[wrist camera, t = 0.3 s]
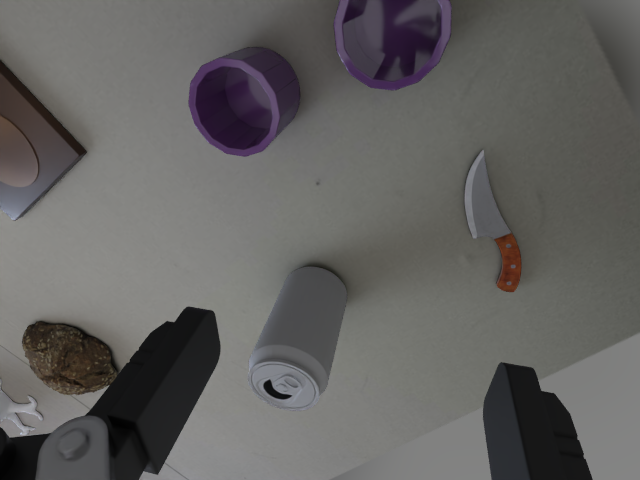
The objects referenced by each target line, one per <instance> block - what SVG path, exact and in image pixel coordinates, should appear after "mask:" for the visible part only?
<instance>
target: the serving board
mask: <svg viewBox="0 0 640 480" xmlns="http://www.w3.org/2000/svg"><path fill="white" fill-rule="evenodd" d="M86 153H87V152H86V151H85V150H84V149H83V147H82V146H81V145H80V144H79V143H78V142H77V141H76V140H75V139H74V138H73V137H72V136H71V135H70V134H69V133H68V132H67V131H66V130H65V128H64V127H63V126H62V125H61V124H60V123H59V122H58V121H57V120H56V119H55V118H54V117H53V116H52V115H51V114H50V113H49V112H48V111H47V109H46V108H45V107H44V106H43V105H42V104H41V103H40V102H39V101H38V100H37V99H36V98H35V97H34V96H33V95H32V94H31V93H30V91H29V90H28V89H27V88H26V87H25V86H24V85H23V84H22V83H21V82H20V81H19V80H18V79H17V78H16V77H15V76H14V75H13V74H12V72H11V71H10V70H9V69H8V68H7V67H6V66H5V65H4V64H3V63H2V62H1V61H0V208H1V209H2V210H3V211H4V212H5V213H6V214H7V215H8V216H9V217H10V218H12V219H13V220H14V221H15V220H17V219H19V218H21V217H22V216H23V215H24V214H25V213H26V212H27V211H28V210H29V209H30V208H31V207H32V206H33V205H34V204H35V203H36V202H37V201H38V200H39V199H40V198H41V197H42V196H43V195H44V194H45V193H46V192H47V191H48V190H49V189H50V188H51V187H52V186H53V185H55V184H56V183H57V182H58V181H59V180H60V179H61V178H62V177H63V176H64V175H65V174H66V173H67V172H68V171H69V170H70V169H71V168H72V167H73V166H74V165H75V164H76V163H77V162H78V161H79V160H80V159H81V158H82V157H83V156H84V155H85V154H86Z"/></svg>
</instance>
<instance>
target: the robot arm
mask: <svg viewBox="0 0 640 480" xmlns="http://www.w3.org/2000/svg"><path fill="white" fill-rule="evenodd" d="M219 356H220V340H219V334H218V329H217V323H216V317H215V313H214V312H213V311H211V310H206V309H200V308H194V307H186V308H185V309H184V310H183V311H182V313H181V314H180V315H179V317H178V318H177V319H176V321H175V322H169V321H167V322H165V323H164V324H162V325H161V326H159V327H158V328H157V329H155V330H154V331H152V332H151V333H150V334H149V336H148V337H147V338H146V339H145V341H144V342H143V343H142V345H141V346H140V347H139V350H138V351H136V352H135V354H134V355H133V356H132V357H131V359H130V362H129V363H127V364H126V365H125V366H124V368H123V369H122V370H121V372H120V373H119V374H118V375H117V377H116V378H115V379H114V381H113V382H112V383H111V384H110V386H109V387H108V388H107V390H106V391H105V392H104V394H103V395H102V396H101V397H100V399H99V400H98V401H97V403H96V404H95V405H94V406H93V408H92V409H91V410H90V411H89V412H88V413H87V414H86V415H85V416H81V417H78V418H74V419H72V420H69V421H68V422H66V423H64V424H62V425H61V426H59V427H58V428H57V429H56V430H54V431H53V432H52V433H49V434H41V435H32V436H23V437H14V438H9V436H8V435H7V434H6V432H5V431H4V430H3V429H2V428H1V427H0V480H139V478H140V476H141V474H142V473H143V471H145V472H149V473H153V474H157V475H158V473H159V472H160V470H161V468H162V466H163V464H164V462H165V460H166V459H167V457H168V455H169V453H170V451H171V449H172V447H173V446H174V444H175V442H176V440H177V438H178V436H179V434H180V432H181V431H182V429H183V427H184V425H185V423H186V421H187V419H188V418H189V416H190V414H191V412H192V410H193V408H194V406H195V405H196V403H197V401H198V399H199V397H200V395H201V393H202V392H203V390H204V388H205V386H206V384H207V382H208V380H209V378H210V377H211V375H212V373H213V371H214V369H215V367H216V365H217V363H218V360H219ZM483 420H484V428H485V435H486V442H487V449H488V457H489V464H490V470H491V477H492V480H592V476H591V474H590V471H589V468H588V465H587V462H586V459H584V457H583V455H584V453H583V450H582V448H581V445H580V442H579V440H577V433H576V430H575V427H574V424H573V421H572V419H571V416H570V413H569V412H568V411H567V409H566V408H565V407H564V405H563V404H562V403H561V401H560V400H559V399H558V398H557V396H556V395H555V394H554V393H549V392H544V391H541V389H540V385H539V382H538V378H537V375H536V372H535V370H534V369H533V368H531V367H525V366H520V365H514V364H508V363H502V362H501V363H500V364H499V365H498V367H497V370H496V372H495V375H494V377H493V379H492V382H491V384H490V387H489V389H488V392H487V394H486V397H485V400H484V407H483Z"/></svg>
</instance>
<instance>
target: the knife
mask: <svg viewBox="0 0 640 480" xmlns="http://www.w3.org/2000/svg"><path fill="white" fill-rule="evenodd" d="M465 210H466V216H467V221H468V225H469V228H470V231H471V234H472V236H473V239H475V238H479V237H483V236H488V237H491V238H493V239H494V240H495V241H496V242H497V244H498V246H499V248H500V251H501V254H502V270H501V273H500V276H499V278H498V280H497V287H498V288H500V289H501V290H503V291H506V292H514V291H515V290H516V288H517V286H518V284H519V281H520V276H521V256H520V251H519V248H518V245H517V242H516V240H515V238H514V235H513V234H512V232H511V231H510V229H509V228H508V226H507V225H506V223H505V221H504V220H503V218H502V216H501V214H500V212H499V210H498V207H497V205H496V202H495V200H494V197H493V194H492V191H491V188H490V184H489V180H488V175H487V170H486V164H485V158H484V150H482V151H481V153H480V154H479V155H478V157H477V159H476V160H475V162H474V163H473V165H472V167H471V169H470V171H469V174H468V177H467V181H466V187H465Z"/></svg>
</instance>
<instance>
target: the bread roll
mask: <svg viewBox="0 0 640 480" xmlns="http://www.w3.org/2000/svg"><path fill="white" fill-rule="evenodd" d="M22 344H23V349H24V351H25V356H26V357H27V358H28V360H29V363H30V367H31V369H32V370H33V371H34V373H35V375H36V376H37V377H38V378H39V379H40V380H42V381H43V382H44V384H45V385H47V386H48V387H49V388H52V389H53V390H55V391H58V392H59V393H61V394H64V395H66V394H67V395H72V394H76V395H80V394H84V393H88V392H95V391H97V390H100V389H103V388H104V387H106V386H108V385H110V384H111V383H112V382H113V381H114V379H115V378H116V377H117V371H116V370H115V369H114V367H113V366H112V365H111V362H110V359H111V354H110V351H109V349H108V347H107V346H106V345H104V344H103V343H102V342H100V341H99V340H98V339H96V338H93V337H88V336H87V335H85V334H84V333H82V332H81V331H79V330H78V329H76V328H73V327H68V326H66V325H59V324H57V325H48V324H45V323H43V322H36V324H32V325H29V326H28V327H27V329H26V330H25V332H24V335H23V340H22Z"/></svg>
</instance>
